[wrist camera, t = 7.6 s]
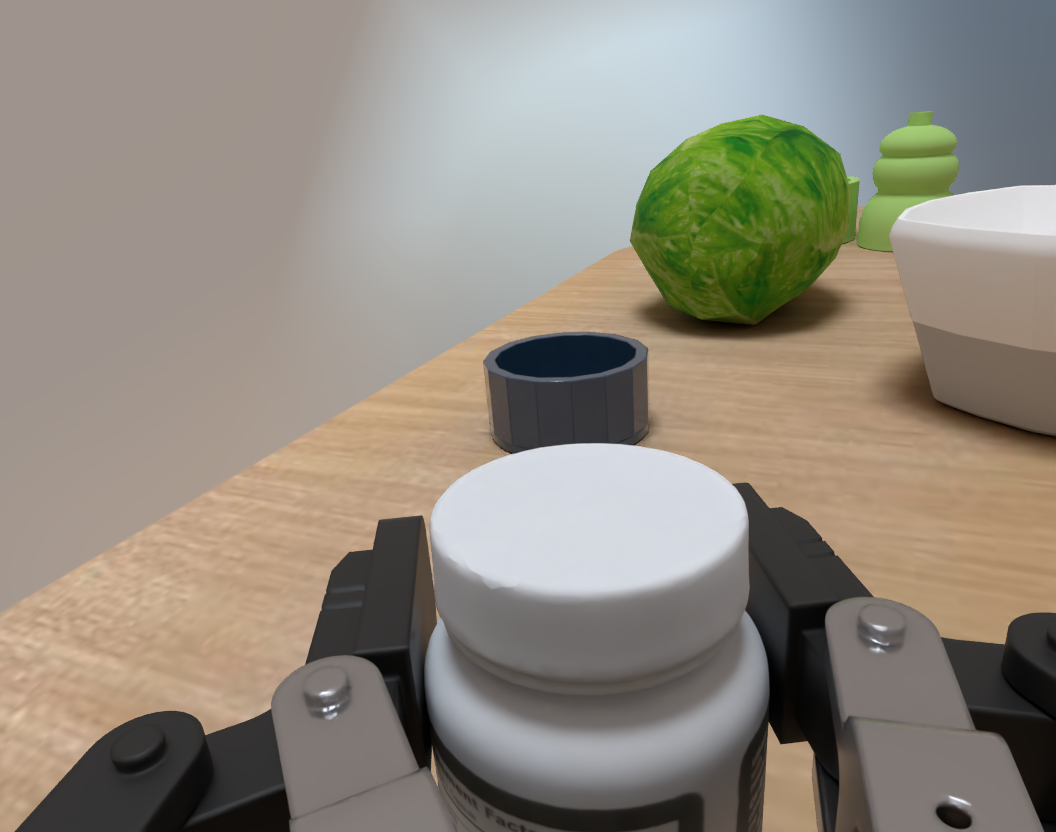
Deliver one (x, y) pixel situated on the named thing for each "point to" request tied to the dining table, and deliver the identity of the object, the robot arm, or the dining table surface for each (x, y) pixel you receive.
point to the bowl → (985, 300)
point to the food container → (904, 178)
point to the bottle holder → (567, 391)
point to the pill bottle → (596, 646)
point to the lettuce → (742, 218)
